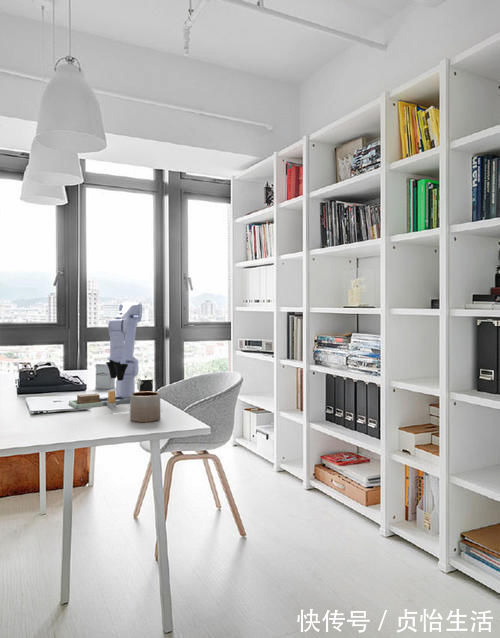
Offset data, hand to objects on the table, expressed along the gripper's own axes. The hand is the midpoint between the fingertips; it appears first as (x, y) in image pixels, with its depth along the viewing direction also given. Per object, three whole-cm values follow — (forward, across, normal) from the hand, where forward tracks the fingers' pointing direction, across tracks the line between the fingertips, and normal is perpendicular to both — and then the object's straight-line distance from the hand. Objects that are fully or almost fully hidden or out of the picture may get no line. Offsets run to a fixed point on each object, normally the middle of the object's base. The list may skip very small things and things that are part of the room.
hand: (116, 379), depth 213 cm
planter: (+11, +34, -2) cm, 36 cm away
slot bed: (+10, -1, -2) cm, 11 cm away
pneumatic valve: (+11, +6, +10) cm, 16 cm away
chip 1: (+10, -1, -14) cm, 17 cm away
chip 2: (+10, -1, -10) cm, 14 cm away
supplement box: (+11, -42, +10) cm, 44 cm away
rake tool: (+10, +8, -5) cm, 13 cm away
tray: (+10, -1, -12) cm, 16 cm away
